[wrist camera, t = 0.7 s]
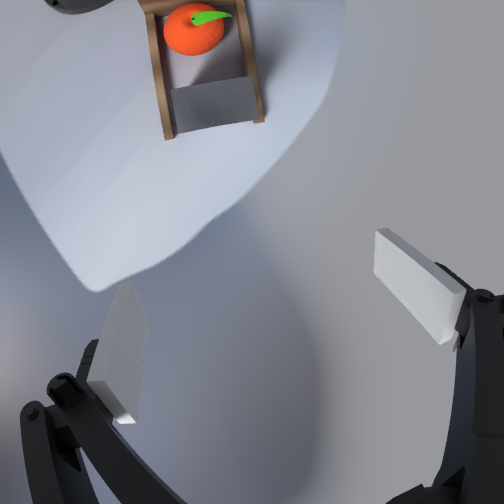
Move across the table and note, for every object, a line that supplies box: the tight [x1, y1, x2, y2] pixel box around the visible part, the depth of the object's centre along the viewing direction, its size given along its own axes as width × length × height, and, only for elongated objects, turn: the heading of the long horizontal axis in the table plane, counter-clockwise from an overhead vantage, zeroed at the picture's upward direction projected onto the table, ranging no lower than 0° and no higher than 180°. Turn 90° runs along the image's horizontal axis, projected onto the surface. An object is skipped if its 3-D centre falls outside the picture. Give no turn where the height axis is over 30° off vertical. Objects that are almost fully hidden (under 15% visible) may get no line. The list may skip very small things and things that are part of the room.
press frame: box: [138, 0, 265, 140], centre depth 27 cm, size 19×12×9 cm, turn 9°
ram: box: [170, 76, 259, 134], centre depth 28 cm, size 5×7×12 cm, turn 99°
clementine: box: [164, 3, 233, 56], centre depth 26 cm, size 8×7×7 cm
